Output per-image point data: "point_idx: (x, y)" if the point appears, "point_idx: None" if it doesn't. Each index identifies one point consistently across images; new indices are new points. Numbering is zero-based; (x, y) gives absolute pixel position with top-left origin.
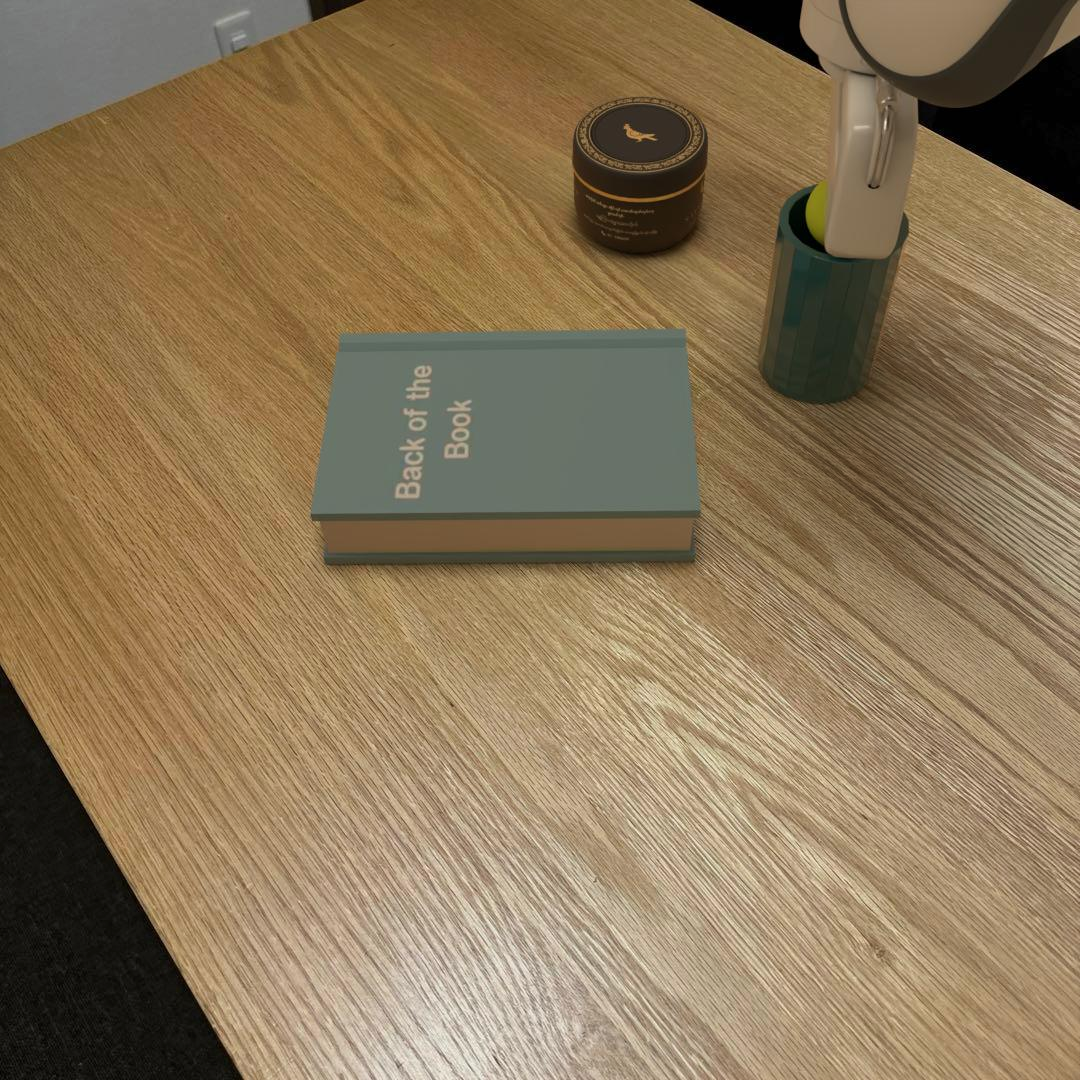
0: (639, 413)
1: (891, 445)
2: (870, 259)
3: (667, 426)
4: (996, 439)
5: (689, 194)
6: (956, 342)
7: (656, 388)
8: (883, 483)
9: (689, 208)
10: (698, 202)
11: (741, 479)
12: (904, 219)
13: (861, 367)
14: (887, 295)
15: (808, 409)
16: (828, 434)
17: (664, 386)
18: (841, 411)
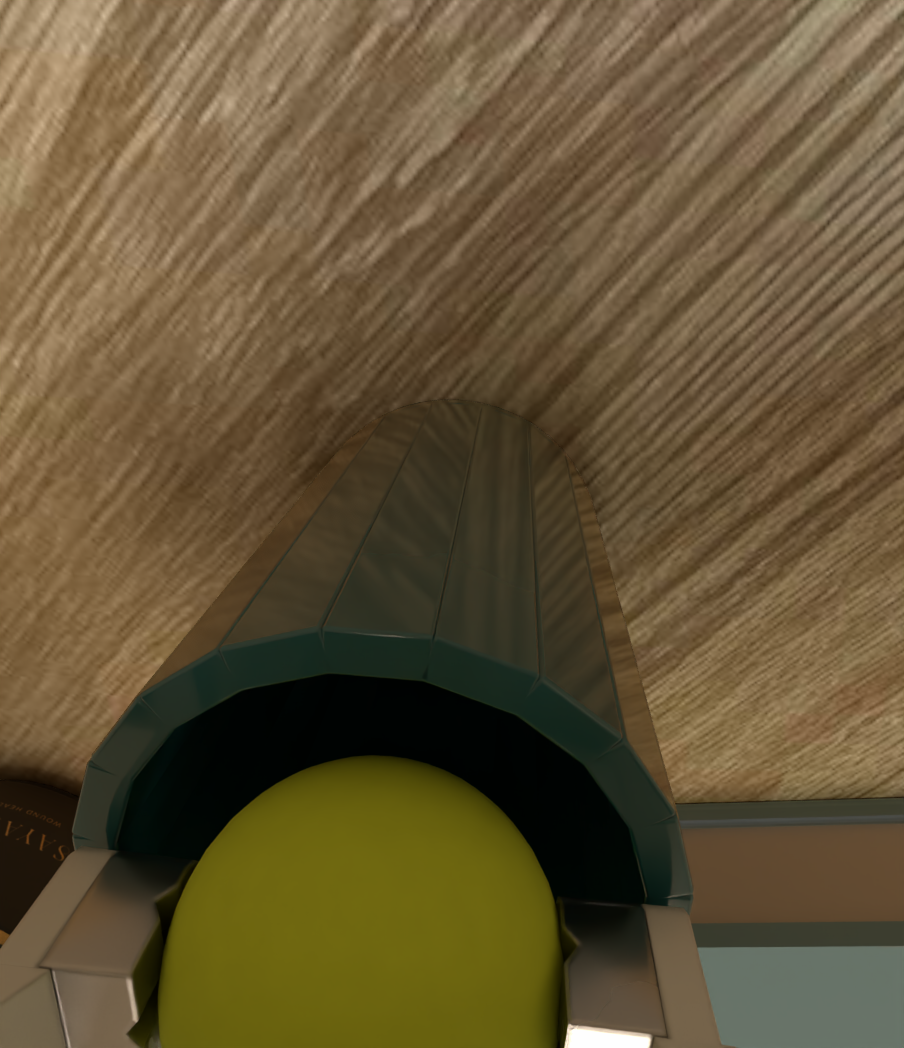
0: (846, 1039)
1: (744, 363)
2: (669, 831)
3: (897, 992)
4: (733, 42)
5: (15, 913)
6: (325, 141)
7: (763, 1008)
8: (879, 393)
9: (39, 872)
10: (2, 844)
11: (834, 703)
12: (317, 646)
13: (571, 481)
14: (550, 554)
15: (614, 558)
16: (700, 517)
17: (757, 994)
18: (619, 483)
